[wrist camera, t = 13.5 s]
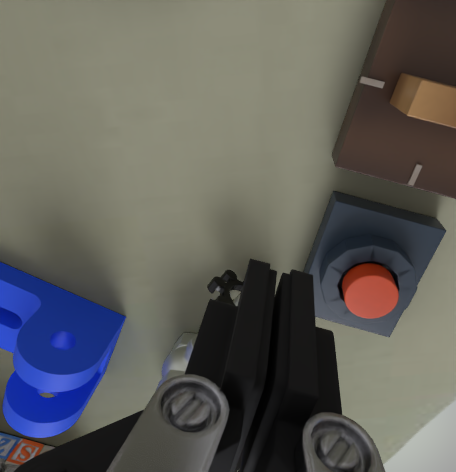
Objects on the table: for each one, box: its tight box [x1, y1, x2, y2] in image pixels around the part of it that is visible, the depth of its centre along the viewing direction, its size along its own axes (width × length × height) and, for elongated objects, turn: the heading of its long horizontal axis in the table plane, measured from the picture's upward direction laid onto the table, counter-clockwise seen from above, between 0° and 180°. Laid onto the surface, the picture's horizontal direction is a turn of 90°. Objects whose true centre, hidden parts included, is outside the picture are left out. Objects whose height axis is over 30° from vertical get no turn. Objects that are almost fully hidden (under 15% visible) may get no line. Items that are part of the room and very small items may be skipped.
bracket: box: [0, 262, 126, 438], centre depth 37 cm, size 18×8×9 cm, turn 67°
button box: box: [303, 191, 446, 337], centre depth 31 cm, size 10×8×4 cm
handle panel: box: [332, 0, 456, 199], centre depth 26 cm, size 11×11×3 cm
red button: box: [342, 263, 399, 319], centre depth 29 cm, size 4×4×2 cm
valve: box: [156, 270, 244, 390], centre depth 35 cm, size 7×7×12 cm
